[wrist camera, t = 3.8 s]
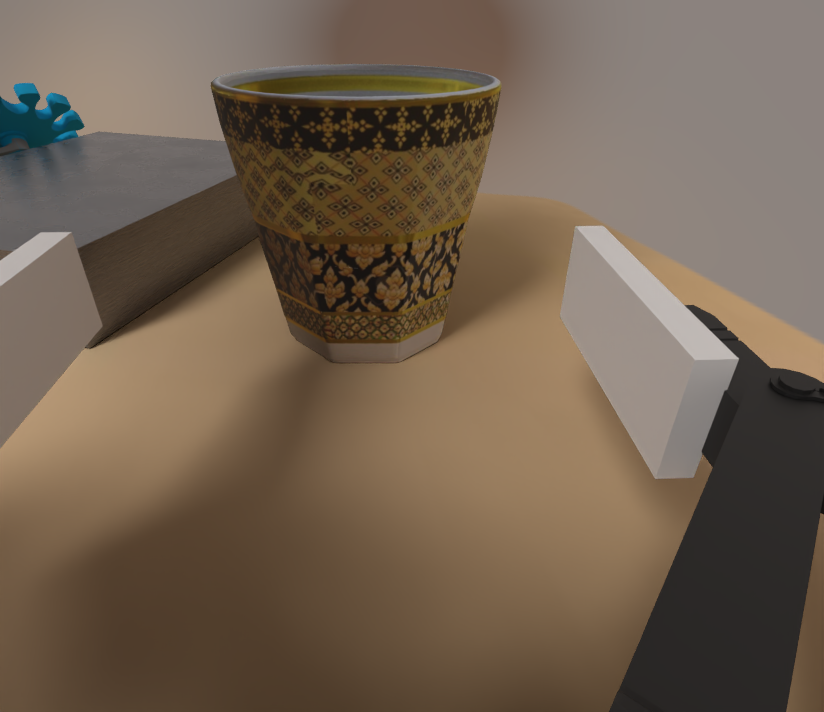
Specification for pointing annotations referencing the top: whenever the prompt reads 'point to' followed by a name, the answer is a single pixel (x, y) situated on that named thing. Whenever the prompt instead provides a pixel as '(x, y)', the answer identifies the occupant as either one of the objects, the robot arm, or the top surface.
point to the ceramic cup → (360, 194)
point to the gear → (35, 121)
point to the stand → (128, 213)
